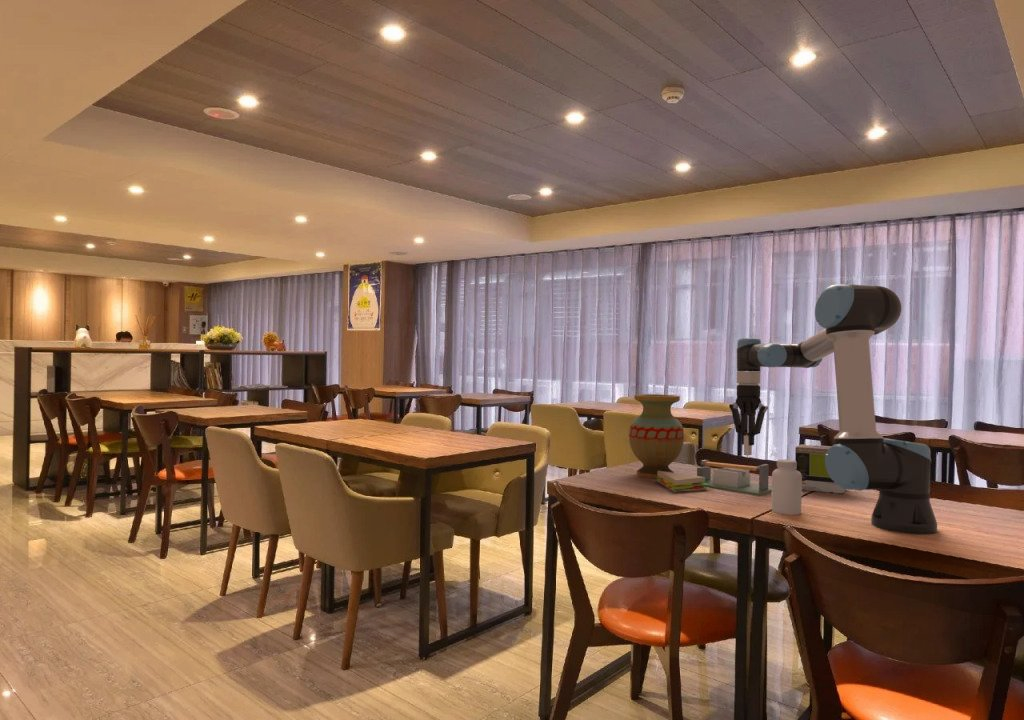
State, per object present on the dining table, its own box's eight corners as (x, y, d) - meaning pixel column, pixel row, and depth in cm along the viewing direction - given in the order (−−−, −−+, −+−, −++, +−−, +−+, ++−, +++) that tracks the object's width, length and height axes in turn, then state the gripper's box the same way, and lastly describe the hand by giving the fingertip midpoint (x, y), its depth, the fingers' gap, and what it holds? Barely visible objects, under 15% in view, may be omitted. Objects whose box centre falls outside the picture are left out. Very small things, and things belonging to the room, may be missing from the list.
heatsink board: (681, 484, 238) (681, 457, 238) (705, 479, 249) (705, 453, 249) (757, 497, 218) (758, 468, 218) (780, 490, 229) (780, 463, 229)
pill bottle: (766, 512, 196) (767, 460, 196) (777, 508, 202) (778, 457, 202) (794, 517, 190) (796, 463, 190) (805, 513, 196) (806, 460, 196)
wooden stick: (698, 466, 240) (698, 460, 240) (703, 465, 243) (703, 459, 243) (755, 472, 225) (755, 466, 225) (760, 471, 228) (760, 465, 228)
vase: (621, 472, 260) (623, 393, 260) (672, 472, 263) (673, 394, 262) (637, 482, 241) (638, 396, 241) (691, 481, 243) (693, 397, 243)
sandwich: (684, 483, 242) (684, 469, 242) (714, 494, 223) (714, 479, 223) (644, 485, 238) (644, 470, 238) (672, 496, 219) (672, 480, 219)
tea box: (846, 490, 233) (847, 446, 232) (843, 495, 224) (844, 449, 224) (799, 485, 241) (800, 443, 241) (794, 489, 232) (795, 446, 232)
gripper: (772, 384, 227) (771, 456, 227) (735, 383, 236) (735, 452, 236) (761, 385, 222) (761, 458, 222) (724, 383, 231) (724, 453, 231)
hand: (747, 454), depth 229 cm, fingers closed
